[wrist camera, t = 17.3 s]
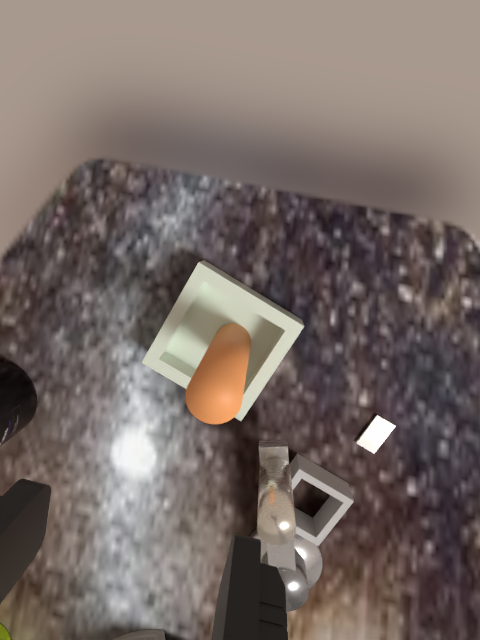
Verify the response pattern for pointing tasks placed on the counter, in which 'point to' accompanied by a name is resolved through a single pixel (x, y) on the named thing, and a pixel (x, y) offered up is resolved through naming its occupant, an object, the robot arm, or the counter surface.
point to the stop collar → (331, 509)
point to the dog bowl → (143, 635)
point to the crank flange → (308, 550)
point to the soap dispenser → (4, 633)
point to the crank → (280, 521)
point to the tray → (211, 314)
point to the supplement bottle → (15, 401)
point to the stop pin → (220, 376)
